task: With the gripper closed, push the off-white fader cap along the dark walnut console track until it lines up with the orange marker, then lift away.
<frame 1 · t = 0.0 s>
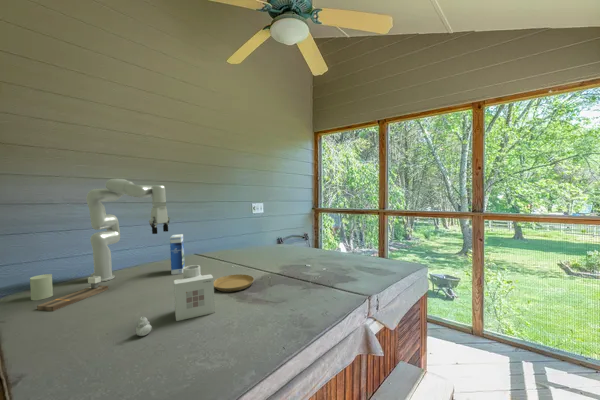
hand: (160, 232, 173), 31 cm above the table, tool pointing down, fingers open, 9 cm apart
plant saucer: (233, 286, 164), on the table
string lights box: (178, 272, 196), on the table
fader console: (76, 298, 150), on the table
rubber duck: (144, 334, 109), on the table
can: (42, 297, 153), on the table
fader knob: (94, 282, 160), point 5 cm above the table, slide at 0.0 cm
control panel: (193, 309, 131), on the table
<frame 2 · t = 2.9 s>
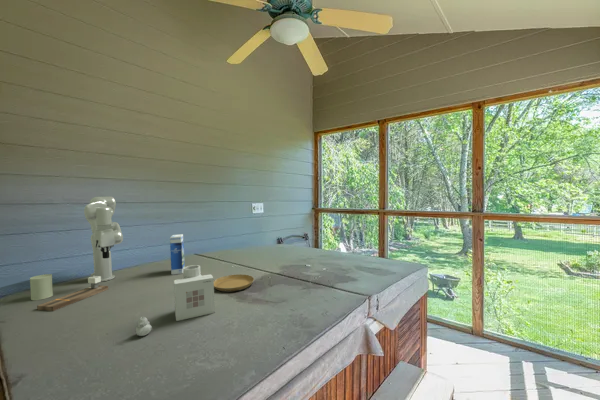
hand: (106, 258, 167), 18 cm above the table, tool pointing down, fingers closed
nothing on the table moved.
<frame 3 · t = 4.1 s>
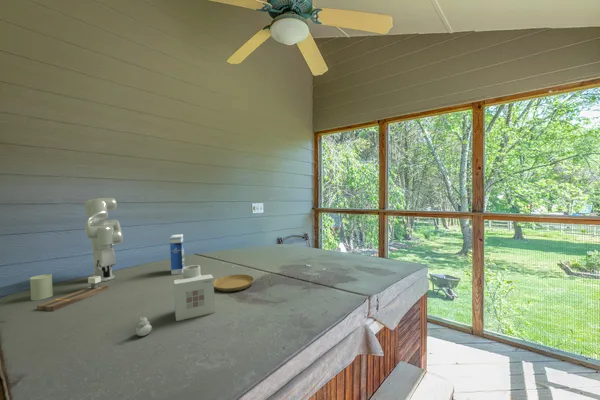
hand: (106, 277, 168), 6 cm above the table, tool pointing down, fingers closed
nothing on the table moved.
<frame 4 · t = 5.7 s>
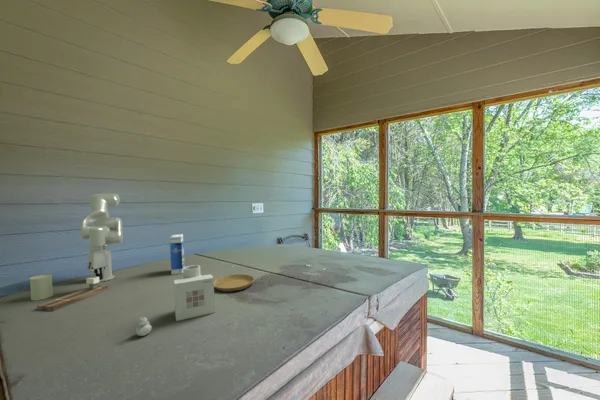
hand: (99, 279, 163), 6 cm above the table, tool pointing down, fingers closed
fader knob: (93, 282, 159), point 5 cm above the table, slide at 1.0 cm, touching gripper
everything else where it was.
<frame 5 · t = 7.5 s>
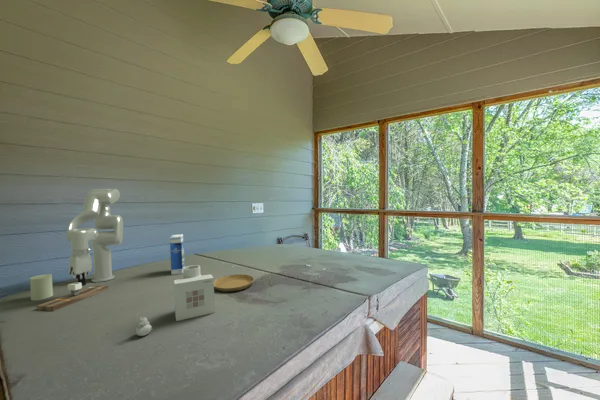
hand: (82, 285, 153), 6 cm above the table, tool pointing down, fingers closed
fader knob: (74, 288, 149), point 5 cm above the table, slide at 11.3 cm, touching gripper
everything else where it was.
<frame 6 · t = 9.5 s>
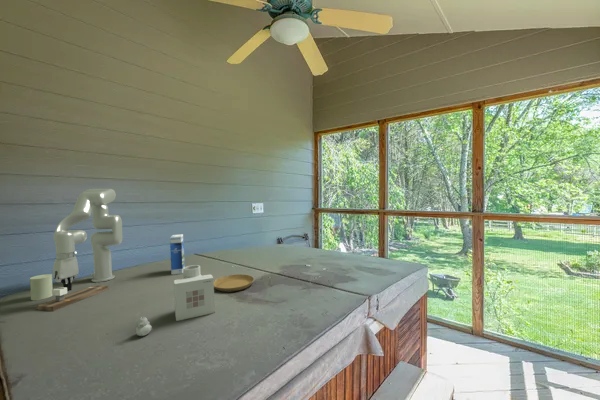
hand: (67, 290, 145), 6 cm above the table, tool pointing down, fingers closed
fader knob: (59, 294, 142), point 5 cm above the table, slide at 19.0 cm, touching gripper
everything else where it was.
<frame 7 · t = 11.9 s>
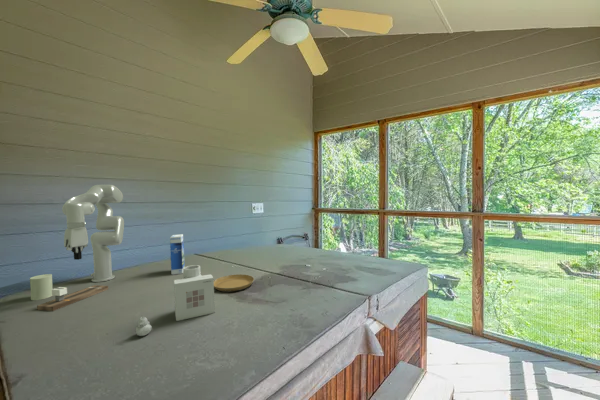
hand: (77, 259, 151), 21 cm above the table, tool pointing down, fingers closed
fader knob: (59, 294, 142), point 5 cm above the table, slide at 19.1 cm
everything else where it was.
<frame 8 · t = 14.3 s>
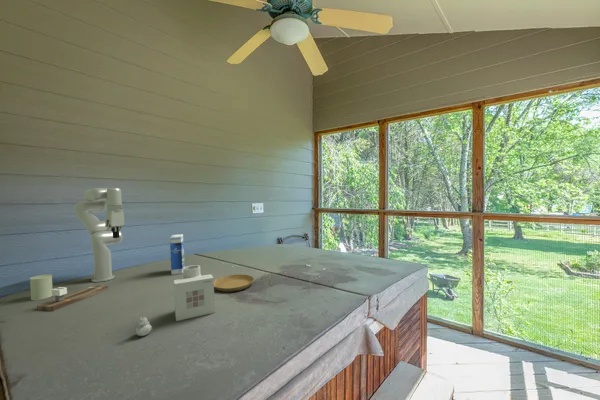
hand: (116, 237, 170), 29 cm above the table, tool pointing down, fingers closed
nothing on the table moved.
at the end: fader knob slide at 19.1 cm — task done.
